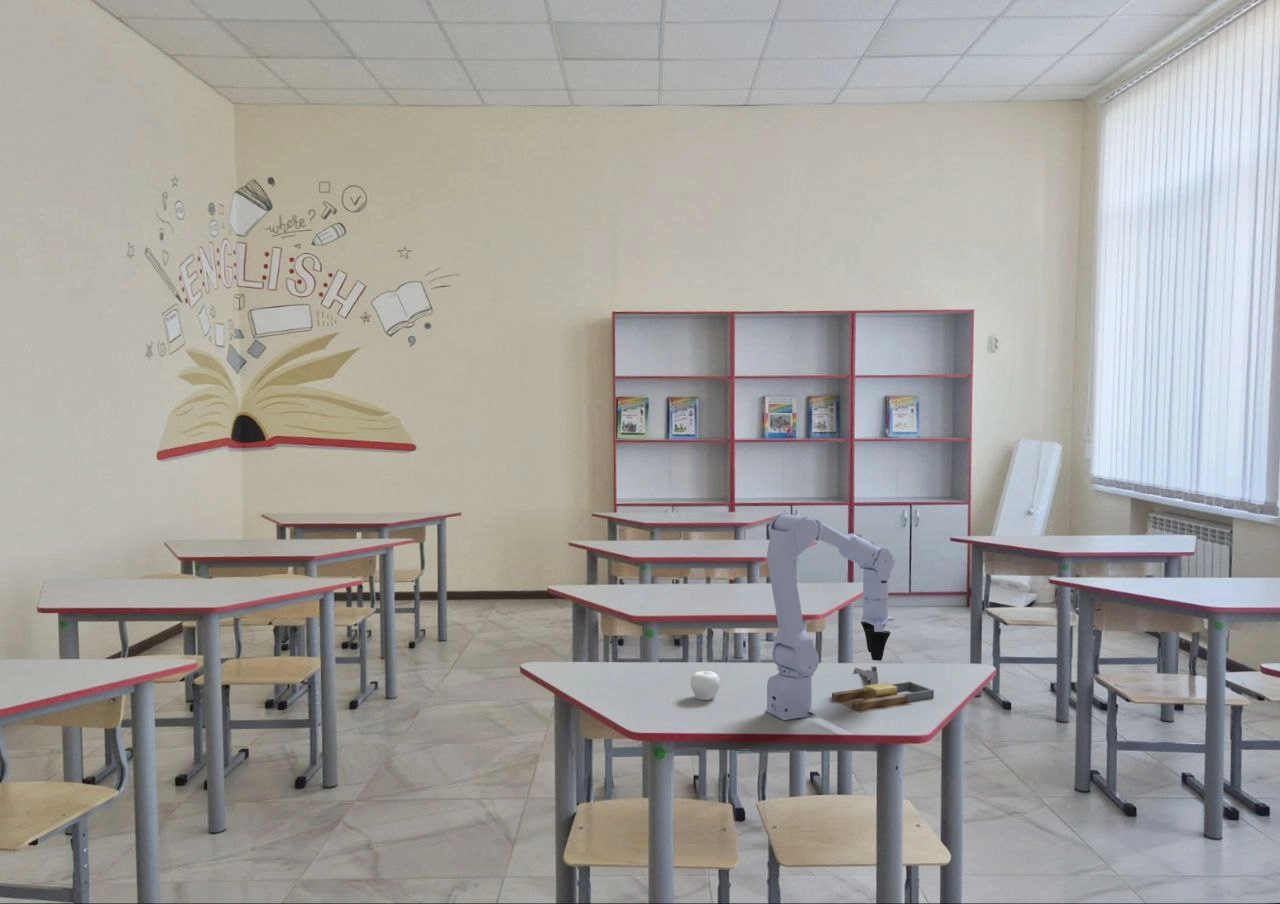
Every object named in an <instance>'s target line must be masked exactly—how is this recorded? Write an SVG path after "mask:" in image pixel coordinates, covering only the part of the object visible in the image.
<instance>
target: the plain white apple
mask: <svg viewBox="0 0 1280 904" xmlns="http://www.w3.org/2000/svg"><path fill="white" fill-rule="evenodd" d="M720 687H721V679H720V677H719V675H718V674H717V673H716V672H714V671H712V670H707V665H706V664H705V665H704V668H703V670H701V671H699V670H698V671H695V672H694V673H693V674H692V675H691V677H690V688H691V690H692V692H693V695H694V697H695V698H696V699H697V700H699V699H700V701H702V700H707V701H710V700H713V699H714V698H715V697H716V695H717V693H718V691H719V689H720Z"/></svg>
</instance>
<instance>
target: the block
mask: <svg viewBox="0 0 1280 904" xmlns="http://www.w3.org/2000/svg"><path fill="white" fill-rule="evenodd" d="M891 684H892V683H888V682H878V684H872V685H871V684H867V685H864V688H865V699H873V698H879V697H886V696H892V695H898V691H897V687H896V686H894V685H891Z"/></svg>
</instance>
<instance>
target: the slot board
mask: <svg viewBox="0 0 1280 904" xmlns="http://www.w3.org/2000/svg"><path fill="white" fill-rule="evenodd" d="M904 694H905V693H898V694H897V695H892V696H886V697H879V698H873V699H865V687H863V688H856V689H850V690H842V691H837V692H832V693H831V696H830V697H829V699H830V700H832V701H834V702H836V703H838V704H840V705H843V706H846V707H848V708H849V709H852V710H854V711H856V712H859V713H867V712H874V711H880V710H886V709H892V708H898V707H899V708H900V707H905V706H906V707H907V706H911V705H913V704H912V703H909V702H908V696H906V695H904Z"/></svg>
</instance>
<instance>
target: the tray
mask: <svg viewBox="0 0 1280 904" xmlns="http://www.w3.org/2000/svg"><path fill="white" fill-rule="evenodd" d="M890 684H891V685H894V686H896V687H897V692H902V691H908V690H909V691H913V692H909V693H903V694H904V695H906V696H908V703H909V702H915V701H922V700H928V699H933V698H935V697H934V696H935V695H934V691H935V690H934V689H931V688H928V687H926V686H924V685H921V684H918V683H915V682H913V681H906V682H897V683H890Z"/></svg>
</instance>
